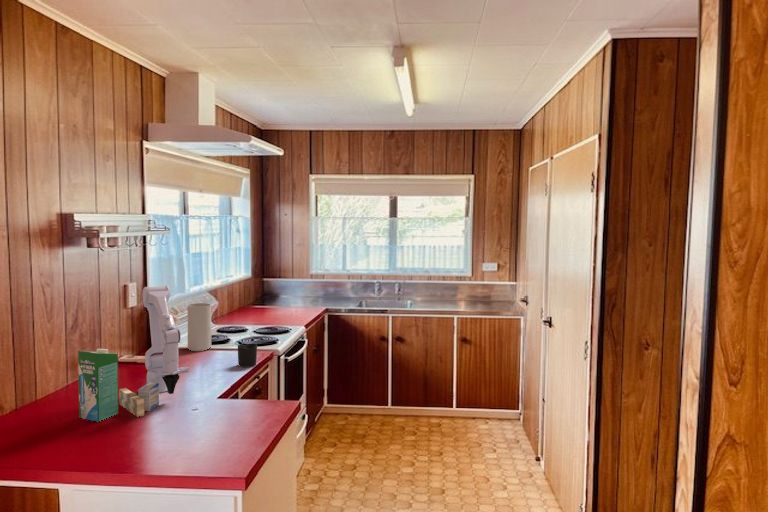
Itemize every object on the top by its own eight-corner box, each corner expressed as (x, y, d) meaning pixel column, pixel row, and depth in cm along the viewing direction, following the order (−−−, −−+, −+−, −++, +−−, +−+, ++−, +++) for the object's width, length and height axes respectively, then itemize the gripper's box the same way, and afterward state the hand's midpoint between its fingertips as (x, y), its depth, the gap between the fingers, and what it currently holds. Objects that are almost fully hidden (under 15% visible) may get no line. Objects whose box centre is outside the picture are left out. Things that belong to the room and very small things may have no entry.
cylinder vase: (194, 345, 300) (194, 302, 298) (215, 347, 298) (215, 303, 296) (183, 351, 287) (183, 306, 286) (204, 352, 286) (204, 307, 284)
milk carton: (118, 414, 193) (118, 347, 191) (98, 422, 185) (97, 353, 183) (100, 410, 196) (99, 345, 194) (78, 419, 187) (77, 350, 186)
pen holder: (250, 368, 256) (250, 348, 256) (233, 366, 259) (233, 346, 259) (260, 363, 265) (260, 344, 265) (244, 361, 268) (244, 342, 268)
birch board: (119, 404, 203) (119, 388, 202) (126, 403, 205) (125, 387, 204) (137, 417, 190) (137, 400, 190) (144, 415, 192) (144, 398, 192)
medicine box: (149, 411, 196) (149, 389, 196) (138, 411, 196) (137, 388, 196) (159, 404, 204) (159, 382, 203) (148, 404, 204) (147, 382, 204)
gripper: (156, 364, 198) (156, 399, 199) (192, 358, 209) (192, 391, 209) (148, 361, 203) (149, 395, 204) (185, 355, 214) (185, 387, 214)
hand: (170, 393), depth 207 cm, fingers closed
